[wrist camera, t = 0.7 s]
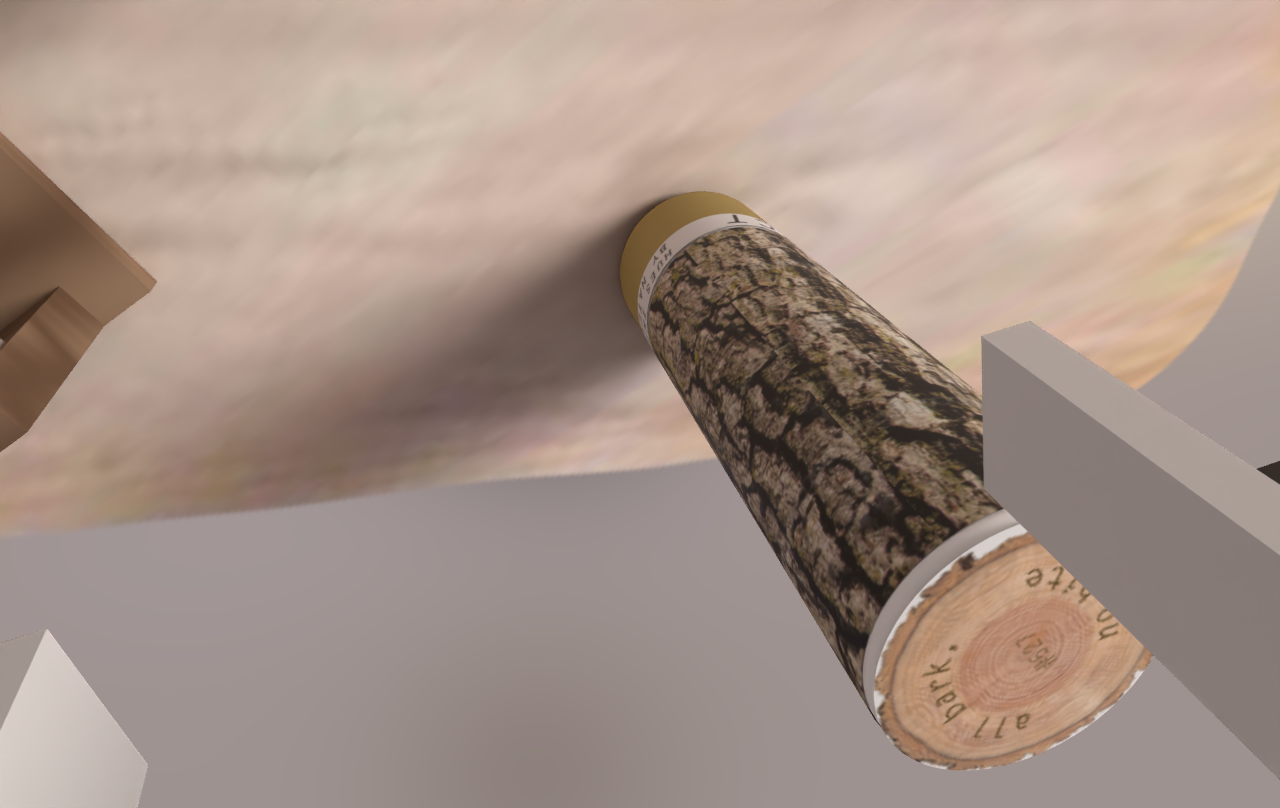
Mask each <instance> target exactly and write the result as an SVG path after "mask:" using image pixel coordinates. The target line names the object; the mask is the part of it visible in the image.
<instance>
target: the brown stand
mask: <svg viewBox="0 0 1280 808" xmlns="http://www.w3.org/2000/svg"><path fill="white" fill-rule="evenodd" d="M156 282H157V281H156V280H155V279H153V278H152V277H151V276H150V275H149V274H148V273H147V272H146V271H145V270H144V269H143V268H142V267H141V266H140V265H139V264H138V263H137V262H136V261H135V260H134V259H133V258H132V257H130V256H129V255H128V254H127V253H126V252H125V251H124V250H123V249H122V248H121V247H120V246H119V245H118V244H117V243H116V242H115V241H114V240H113V239H112V238H111V237H110V236H109V235H107V234H106V233H105V232H104V231H103V230H102V229H101V228H100V227H99V226H98V225H97V224H96V223H95V222H94V221H93V220H92V219H91V218H90V217H89V216H88V215H87V214H86V213H84V212H83V211H82V210H81V209H80V208H79V207H78V206H77V205H76V204H75V203H74V202H73V201H72V200H71V199H70V198H69V197H68V196H67V195H66V194H65V193H64V192H63V191H61V190H60V189H59V188H58V187H57V186H56V185H55V184H54V183H53V182H52V181H51V180H50V179H49V178H48V177H47V176H46V175H45V174H44V173H43V172H42V171H41V170H39V169H38V168H37V167H36V166H35V165H34V164H33V163H32V162H31V161H30V160H29V159H28V158H27V157H26V156H25V155H24V154H23V153H22V152H21V151H20V150H19V149H18V148H16V147H15V146H14V145H13V144H12V143H11V142H10V141H9V140H8V139H7V138H6V137H5V136H4V135H3V134H2V133H1V132H0V338H1V339H2V340H3V341H4V342H5V343H4V344H3V345H2V346H1V347H0V452H1V451H2V450H4V449H5V448H6V447H8V446H9V445H11V444H12V443H13V442H15V441H16V440H17V439H19V438H20V437H21V436H23V435H24V434H25V433H27V432H28V430H29V429H30V427H31V426H32V425H33V423H34V422H35V421H36V419H37V418H38V416H39V415H40V414H41V412H42V411H43V410H44V408H45V407H46V405H47V404H48V403H49V401H50V400H51V398H52V397H53V396H54V394H55V393H56V392H57V390H58V389H59V387H60V386H61V385H62V383H63V382H64V381H65V379H66V378H67V376H68V375H69V374H70V372H71V371H72V369H73V368H74V367H75V365H76V364H77V363H78V361H79V360H80V358H81V357H82V356H83V354H84V353H85V352H86V350H87V349H88V347H89V346H90V345H91V343H92V342H93V340H94V339H95V338H96V336H97V335H98V334H99V332H100V331H101V329H102V328H103V327H104V326H105V325H106V324H107V323H109V322H110V321H111V320H113V319H114V318H115V317H117V316H118V315H119V314H121V313H122V312H123V311H125V310H126V309H127V308H129V307H130V306H131V305H133V304H134V303H135V302H137V301H138V300H139V299H141V298H142V297H143V296H145V295H146V294H147V293H149V292H150V291H151V290H152V288H153V287H154V285H155V284H156Z"/></svg>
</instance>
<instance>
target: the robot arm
mask: <svg viewBox="0 0 1280 808" xmlns="http://www.w3.org/2000/svg"><path fill="white" fill-rule="evenodd" d="M981 342H982V404H983V466H984V489H985V490H986V491H987V492H988V493H989V494H990V495H991V496H992V497H993V498H994V499H995V500H996V501H997V502H998V503H999V504H1000V505H1001V506H1002V507H1003V508H1004V509H1005V510H1006V511H1007V512H1008V513H1009V514H1010V515H1011V516H1012V517H1013V518H1014V519H1015V520H1016V521H1017V522H1018V523H1019V524H1020V525H1021V526H1022V527H1023V528H1025V529H1026V530H1027V531H1028V532H1029V533H1030V534H1031V535H1032V536H1033V537H1034V538H1035V539H1036V540H1037V541H1038V542H1039V543H1040V544H1041V545H1042V546H1043V547H1044V548H1045V549H1046V550H1047V551H1048V552H1049V553H1050V554H1051V555H1052V556H1053V557H1054V558H1055V559H1056V560H1057V561H1058V562H1059V563H1060V564H1061V565H1062V566H1063V567H1064V568H1065V569H1066V570H1067V571H1068V572H1069V573H1070V574H1071V575H1072V576H1073V577H1074V578H1075V579H1076V580H1077V581H1078V582H1079V583H1080V584H1081V585H1082V586H1083V587H1084V588H1085V589H1087V590H1088V591H1089V592H1090V593H1091V594H1092V595H1093V596H1094V597H1095V598H1096V599H1097V600H1098V601H1099V602H1100V603H1101V604H1102V605H1103V606H1104V607H1105V608H1106V609H1107V610H1108V611H1109V612H1110V613H1111V614H1112V615H1113V616H1114V617H1115V618H1116V619H1117V620H1118V621H1119V622H1120V623H1121V624H1122V625H1123V626H1124V627H1125V628H1126V629H1127V630H1128V631H1129V632H1130V633H1131V634H1132V635H1133V636H1134V637H1135V638H1136V639H1137V640H1138V641H1139V642H1140V643H1141V644H1142V645H1143V646H1144V647H1145V648H1146V649H1147V650H1149V651H1150V652H1151V653H1152V654H1153V655H1154V656H1155V657H1156V658H1157V659H1158V660H1159V661H1160V662H1161V663H1162V664H1163V665H1164V666H1165V667H1166V668H1167V669H1168V670H1169V671H1170V672H1171V673H1172V674H1173V675H1174V676H1175V677H1176V678H1177V679H1178V680H1179V681H1180V682H1181V683H1182V684H1183V685H1184V686H1185V687H1186V688H1187V689H1188V690H1189V691H1190V692H1191V693H1192V694H1193V695H1194V696H1195V697H1196V698H1197V699H1198V700H1199V701H1200V702H1201V703H1202V704H1203V705H1204V706H1205V707H1206V708H1208V709H1209V711H1211V712H1212V713H1213V714H1214V715H1215V716H1216V717H1217V718H1218V719H1219V720H1220V721H1221V722H1222V723H1223V724H1224V725H1225V726H1226V727H1227V728H1228V729H1229V730H1230V731H1231V732H1232V733H1233V734H1234V735H1235V736H1236V737H1237V738H1238V739H1239V740H1240V741H1241V742H1242V743H1243V744H1244V745H1245V746H1246V747H1247V748H1248V749H1249V750H1250V751H1251V752H1252V753H1253V754H1254V755H1255V756H1257V758H1258V759H1259V760H1260V761H1261V762H1262V763H1263V764H1264V765H1265V766H1266V767H1267V768H1268V769H1269V770H1270V771H1271V772H1273V773H1274V774H1275V775H1276V776H1277V777H1278V778H1279V779H1280V461H1278V462H1275V463H1272V464H1269V465H1267V466H1264V467H1261V468H1258V469H1255V468H1254V467H1252V466H1250V465H1249V464H1248V463H1246V462H1244V461H1243V460H1241V459H1240V458H1238V457H1237V456H1235V455H1234V454H1232V453H1231V452H1229V451H1228V450H1226V449H1225V448H1223V447H1222V446H1220V445H1219V444H1217V443H1215V442H1214V441H1212V440H1211V439H1209V438H1208V437H1206V436H1205V435H1203V434H1202V433H1200V432H1199V431H1197V430H1196V429H1194V428H1193V427H1191V426H1189V425H1188V424H1186V423H1185V422H1183V421H1182V420H1180V419H1179V418H1177V417H1176V416H1174V415H1173V414H1171V413H1170V412H1168V411H1167V410H1165V409H1164V408H1162V407H1161V406H1159V405H1157V404H1156V403H1154V402H1153V401H1151V400H1150V399H1148V398H1147V397H1145V396H1144V395H1142V394H1141V393H1139V392H1138V391H1136V390H1135V389H1133V388H1132V387H1130V386H1129V385H1127V384H1125V383H1124V382H1122V381H1121V380H1119V379H1118V378H1116V377H1115V376H1113V375H1112V374H1110V373H1109V372H1107V371H1106V370H1104V369H1103V368H1101V367H1100V366H1098V365H1096V364H1095V363H1093V362H1092V361H1090V360H1089V359H1087V358H1086V357H1084V356H1083V355H1081V354H1080V353H1078V352H1077V351H1075V350H1074V349H1072V348H1071V347H1069V346H1067V345H1066V344H1064V343H1063V342H1061V341H1060V340H1058V339H1057V338H1055V337H1054V336H1052V335H1051V334H1049V333H1048V332H1046V331H1045V330H1043V329H1042V328H1040V327H1038V326H1037V325H1035V324H1034V323H1032V322H1031V321H1028V322H1025V323H1022V324H1019V325H1016V326H1012V327H1009V328H1006V329H1003V330H1000V331H996V332H993V333H990V334H987V335H984V336H981ZM147 769H148V765H147V763H146V762H145V760H144V759H143V758H142V756H141V755H140V753H139V752H138V751H137V749H136V748H135V747H134V745H133V744H132V743H131V741H130V740H129V739H128V737H127V736H126V735H125V734H124V732H123V731H122V729H121V728H120V727H119V725H118V724H117V722H116V721H115V720H114V718H113V717H112V716H111V714H110V713H109V712H108V710H107V709H106V708H105V706H104V705H103V703H102V702H101V701H100V699H99V698H98V697H97V695H96V694H95V693H94V691H93V690H92V689H91V687H90V686H89V685H88V683H87V682H86V681H85V679H84V678H83V677H82V675H81V674H80V672H79V671H78V670H77V668H76V667H75V666H74V664H73V663H72V662H71V660H70V659H69V658H68V656H67V655H66V654H65V652H64V651H63V650H62V648H61V647H60V645H59V644H58V643H57V641H56V640H55V639H54V637H53V636H52V635H51V633H50V632H49V631H48V629H44V630H41V631H37V632H35V633H31V634H28V635H25V636H22V637H18V638H15V639H12V640H9V641H6V642H2V643H0V808H137V806H138V802H139V799H140V795H141V791H142V788H143V784H144V780H145V776H146V772H147Z"/></svg>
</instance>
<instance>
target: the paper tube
mask: <svg viewBox="0 0 1280 808" xmlns="http://www.w3.org/2000/svg"><path fill="white" fill-rule="evenodd" d="M620 283H621V288H622V293H623V297H624V300H625V302H626V304H627V307H628V308H629V310H630V312H631V313H632V315H633V317H634V318H635V320H636V322H637V323H638V325H639V327H640V328H641V330H642V332H643V333H644V336H645V338H646V340H647V341H648V343H649V345H650V346H651V348H652V350H653V351H654V353H655V355H656V356H657V358H658V360H659V361H660V363H661V365H662V366H663V368H664V370H665V371H666V373H667V374H668V376H669V378H670V379H671V381H672V383H673V384H674V386H675V388H676V389H677V391H678V393H679V394H680V396H681V398H682V399H683V401H684V403H685V404H686V406H687V408H688V409H689V411H690V413H691V414H692V416H693V418H694V419H695V421H696V423H697V424H698V426H699V428H700V429H701V431H702V433H703V434H704V436H705V438H706V439H707V441H708V443H709V444H710V446H711V448H712V449H713V451H714V453H715V454H716V456H717V458H718V459H719V461H720V463H721V464H722V466H723V468H724V469H725V471H726V473H727V474H728V476H729V477H730V479H731V481H732V483H733V484H734V486H735V488H736V489H737V491H738V493H739V494H740V496H741V498H742V499H743V501H744V503H745V504H746V506H747V508H748V509H749V511H750V512H751V514H752V516H753V518H754V519H755V521H756V523H757V524H758V526H759V528H760V529H761V531H762V532H763V534H764V536H765V537H766V539H767V541H768V543H769V544H770V546H771V548H772V549H773V551H774V552H775V554H776V556H777V558H778V559H779V561H780V563H781V564H782V566H783V568H784V569H785V571H786V572H787V574H788V576H789V578H790V579H791V581H792V583H793V584H794V586H795V588H796V589H797V591H798V592H799V594H800V596H801V598H802V599H803V601H804V602H805V604H806V606H807V607H808V609H809V611H810V612H811V614H812V616H813V617H814V619H815V621H816V622H817V624H818V625H819V627H820V629H821V631H822V632H823V634H824V636H825V637H826V639H827V641H828V642H829V644H830V646H831V647H832V649H833V651H834V652H835V654H836V656H837V657H838V659H839V661H840V662H841V664H842V666H843V667H844V669H845V671H846V672H847V674H848V676H849V677H850V679H851V681H852V682H853V684H854V686H855V687H856V689H857V691H858V692H859V694H860V696H861V697H862V699H863V700H864V702H865V704H866V706H867V707H868V709H869V711H870V712H871V714H872V716H873V717H874V719H875V720H876V722H877V723H878V724H879V725H880V726H881V728H882V729H883V731H884V733H885V734H886V736H887V737H888V739H889V740H890V741H891V742H892V744H893V745H894V746H895V747H897V748H898V749H899V750H900V751H901V752H902V753H904V754H905V755H907V756H909V757H910V758H912V759H914V760H916V761H918V762H920V763H923V764H926V765H929V766H932V767H937V768H942V769H949V770H980V769H988V768H994V767H999V766H1004V765H1007V764H1011V763H1015V762H1018V761H1021V760H1024V759H1027V758H1029V757H1032V756H1035V755H1037V754H1039V753H1042V752H1044V751H1046V750H1048V749H1050V748H1053V747H1054V746H1057V745H1058V744H1060V743H1062V742H1064V741H1066V740H1067V739H1069V738H1071V737H1073V736H1074V735H1076V734H1077V733H1078V732H1080V731H1082V730H1083V729H1085V728H1086V727H1087V726H1089V725H1090V724H1091V723H1093V722H1094V721H1096V720H1097V719H1098V718H1099V717H1101V716H1102V715H1103V714H1104V713H1105V712H1107V711H1108V710H1109V709H1110V708H1111V707H1112V706H1113V705H1114V704H1115V703H1116V702H1117V701H1118V700H1119V699H1121V698H1122V696H1123V695H1124V694H1125V693H1126V692H1127V691H1128V690H1129V689H1130V688H1131V687H1132V685H1133V684H1134V683H1135V682H1136V680H1137V679H1138V678H1139V677H1140V675H1141V674H1142V673H1143V671H1144V670H1145V668H1146V667H1147V665H1148V664H1149V663H1150V661H1151V659H1152V658H1153V656H1154V655H1153V654H1152V653H1151V652H1150V651H1149V650H1147V649H1146V648H1145V647H1144V646H1143V645H1142V644H1141V643H1140V642H1139V641H1138V640H1137V639H1136V638H1135V637H1134V636H1133V635H1132V634H1131V633H1130V632H1129V631H1128V630H1127V629H1126V628H1125V627H1124V626H1123V625H1122V624H1121V623H1120V622H1119V621H1118V620H1117V619H1116V618H1115V617H1114V616H1113V615H1112V614H1111V613H1110V612H1109V611H1108V610H1107V609H1106V608H1105V607H1104V606H1103V605H1102V604H1101V603H1100V602H1099V601H1098V600H1097V599H1096V598H1095V597H1094V596H1093V595H1092V594H1091V593H1090V592H1089V591H1088V590H1087V589H1085V588H1084V587H1083V586H1082V585H1081V584H1080V583H1079V582H1078V581H1077V580H1076V579H1075V578H1074V577H1073V576H1072V575H1071V574H1070V573H1069V572H1068V571H1067V570H1066V569H1065V568H1064V567H1063V566H1062V565H1061V564H1060V563H1059V562H1058V561H1057V560H1056V559H1055V558H1054V557H1053V556H1052V555H1051V554H1050V553H1049V552H1048V551H1047V550H1046V549H1045V548H1044V547H1043V546H1042V545H1041V544H1040V543H1039V542H1038V541H1037V540H1036V539H1035V538H1034V537H1033V536H1032V535H1031V534H1030V533H1029V532H1028V531H1027V530H1026V529H1025V528H1023V527H1022V526H1021V525H1020V524H1019V523H1018V522H1017V521H1016V520H1015V519H1014V518H1013V517H1012V516H1011V515H1010V514H1009V513H1008V512H1007V511H1006V510H1005V509H1004V508H1003V507H1002V506H1001V505H1000V504H999V503H998V502H997V501H996V500H995V499H994V498H993V497H992V496H991V495H990V494H989V493H988V492H987V491H986V490H985V489H984V466H983V404H982V395H980V394H979V393H978V392H977V391H975V390H974V389H973V388H972V387H970V386H969V385H968V384H967V383H966V382H964V381H963V380H962V379H961V378H959V377H958V376H957V375H956V374H954V373H953V372H952V371H951V370H949V369H948V368H947V367H946V366H944V365H943V364H942V363H941V362H939V361H938V360H937V359H936V358H935V357H933V356H932V355H931V354H930V353H928V352H927V351H926V350H925V349H923V348H922V347H921V346H920V345H918V344H917V343H916V342H915V341H913V340H912V339H911V338H910V337H909V336H907V335H906V334H905V333H904V332H902V331H901V330H900V329H899V328H897V327H896V326H895V325H894V324H892V323H891V322H890V321H889V320H887V319H886V318H885V317H884V316H883V315H881V314H880V313H879V312H878V311H876V310H875V309H874V308H873V307H871V306H870V305H869V304H868V303H866V302H865V301H864V300H863V299H861V298H860V297H859V296H858V295H857V294H855V293H854V292H853V291H852V290H850V289H849V288H848V287H847V286H845V285H844V284H843V283H842V282H840V281H839V280H838V279H837V278H835V277H834V276H833V275H832V274H831V273H829V272H828V271H827V270H826V269H824V268H823V267H822V266H821V265H819V264H818V263H817V262H816V261H814V260H813V259H812V258H811V257H809V256H808V255H807V254H806V253H804V252H803V251H802V250H801V249H800V248H798V247H797V246H796V245H795V244H793V243H792V242H791V241H790V240H788V239H787V238H786V237H785V236H783V235H782V234H781V233H780V232H778V231H777V230H776V229H775V228H773V227H772V226H771V225H769V224H768V223H766V222H765V221H764V220H763V219H761V218H760V217H759V216H758V215H756V214H755V213H754V212H753V211H752V210H750V209H749V208H748V207H746V206H745V205H744V204H742V203H741V202H739V201H737V200H736V199H733V198H731V197H729V196H726V195H723V194H719V193H714V192H704V191H703V192H690V193H685V194H681V195H678V196H675V197H672V198H670V199H668V200H666V201H664V202H662V203H661V204H659V205H657V206H656V207H655V208H653V209H652V210H651V211H650V212H648V213H647V214H646V215H645V216H644V217H643V218H642V219H641V220H640V222H639V223H638V224H637V225H636V227H635V228H634V229H633V231H632V233H631V235H630V236H629V238H628V240H627V243H626V245H625V248H624V251H623V254H622V258H621V265H620Z"/></svg>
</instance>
